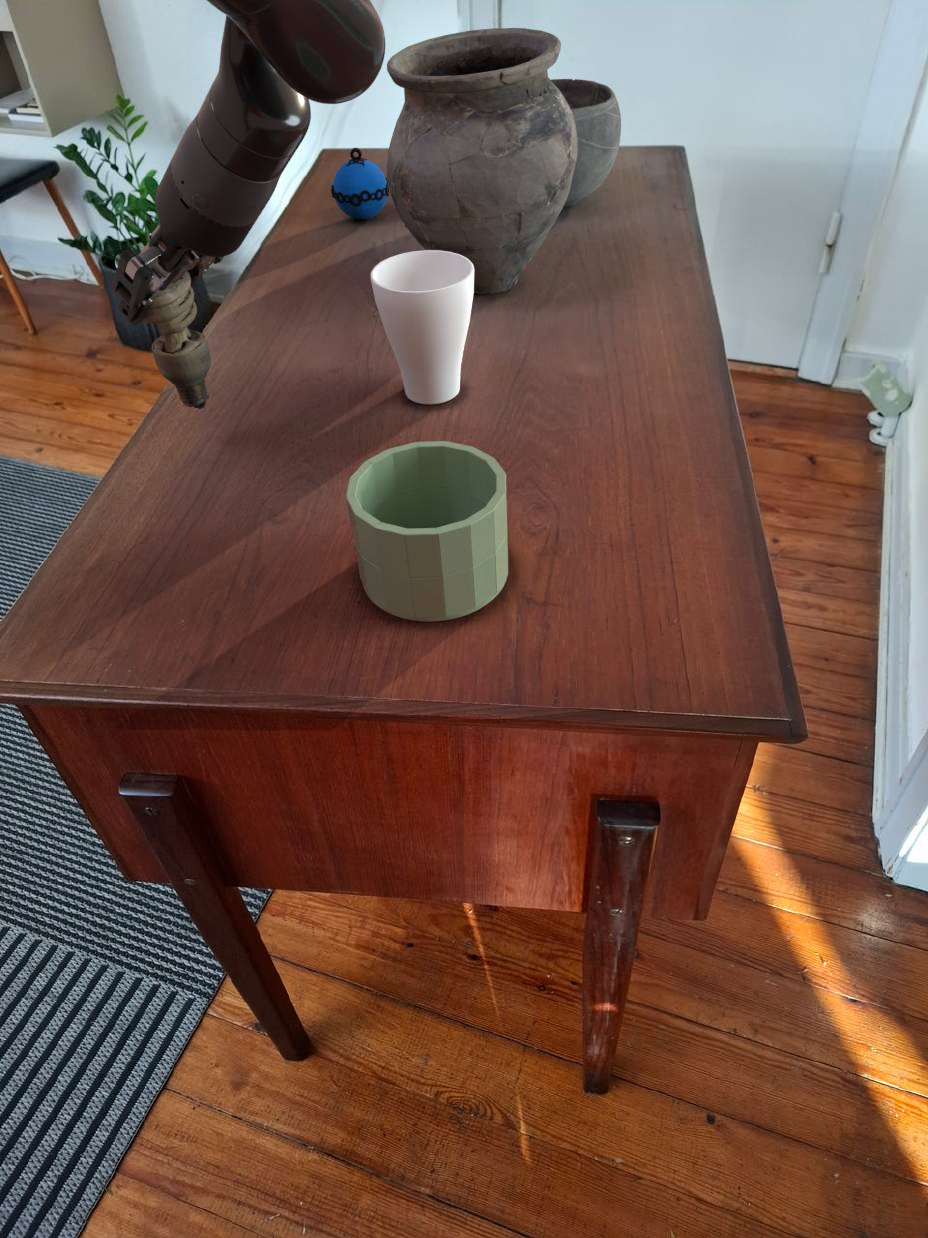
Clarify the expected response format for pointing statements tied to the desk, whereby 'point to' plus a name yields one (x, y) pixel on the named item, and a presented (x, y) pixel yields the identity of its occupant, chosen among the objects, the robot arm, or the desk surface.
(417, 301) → the cup
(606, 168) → the bowl
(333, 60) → the robot arm
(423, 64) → the clay pot
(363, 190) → the ornament
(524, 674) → the desk surface
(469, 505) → the pot
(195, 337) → the light bulb
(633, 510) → the desk surface
